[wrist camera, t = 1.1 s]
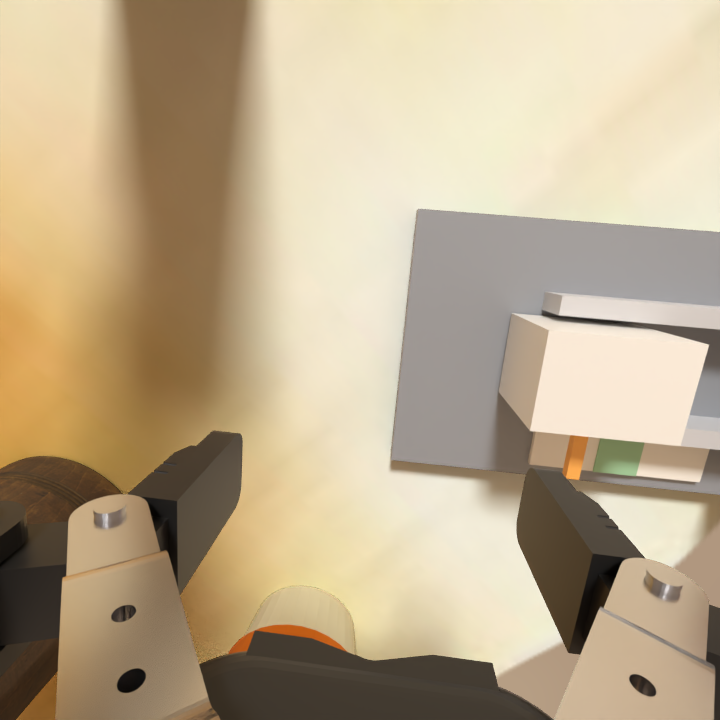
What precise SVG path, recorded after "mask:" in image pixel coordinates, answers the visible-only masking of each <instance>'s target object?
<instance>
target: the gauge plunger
mask: <svg viewBox="0 0 720 720" xmlns="http://www.w3.org/2000/svg"><path fill="white" fill-rule="evenodd" d="M708 347H709V345H708V344H705V343H701V342H697V341H694V340H690V339H686V338H683V337H679V336H675V335H672V334H668V333H665V332H661V331H657V330H654V329H650V328H646V327H643V326H639V325H635V324H629V323H618V322H607V321H595V320H584V319H573V318H561V317H550V316H539V315H527V314H516V313H512V314H511V320H510V326H509V332H508V338H507V344H506V350H505V356H504V362H503V368H502V374H501V380H500V386H499V393H500V394H501V395H502V397H503V398H504V399H505V400H506V402H507V403H508V404H509V405H510V407H511V408H512V409H513V410H514V412H515V413H516V414H517V415H518V417H519V418H520V419H521V420H522V422H523V423H524V424H525V425H526V427H527V428H528V429H529V430H530V431H535V432H545V433H555V434H565V435H570V439H569V444H568V448H567V453H566V457H565V462H564V467H563V471H562V474H563V475H564V476H565V477H566V479H575V480H579V477H580V473H581V469H582V464H583V460H584V455H585V451H586V446H587V442H588V438H589V437H594V438H604V439H614V440H624V441H634V442H644V443H653V444H663V445H673V446H681V443H682V439H683V436H684V432H685V428H686V425H687V421H688V418H689V414H690V411H691V407H692V404H693V400H694V397H695V393H696V390H697V386H698V383H699V379H700V376H701V372H702V368H703V365H704V361H705V358H706V354H707V351H708Z"/></svg>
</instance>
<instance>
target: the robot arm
mask: <svg viewBox="0 0 720 720" xmlns="http://www.w3.org/2000/svg"><path fill="white" fill-rule="evenodd" d="M241 477H242V436H241V434H239V433H230V432H221V431H212V432H211V433H210V434H209V435H208V436H207V437H206V438H205V439H203V440H202V441H201V442H200V443H199V444H198V445H197V446H189V447H187V448H184V449H182V450H180V451H177V452H175V453H174V454H173V455H171V456H170V457H169V458H168V459H167V460H166V461H164V463H163V464H161V465H160V466H159V467H158V468H156V469H155V470H154V473H153V472H152V473H151V474H150V475H148V476H147V477H146V478H145V479H144V480H143V481H142V482H140V483H139V484H138V485H137V486H136V487H135V488H134V489H132V490H131V491H130V492H129V493H128V494H118V495H110V496H105V497H101V498H98V499H95V500H92V501H89V502H87V503H85V504H83V505H82V506H80V507H79V508H77V509H76V510H75V511H74V512H73V513H72V514H71V516H70V518H69V521H66V522H54V523H41V524H27V517H26V509H25V507H24V506H23V505H22V504H20V503H17V502H13V501H0V677H1V676H2V675H3V674H4V673H5V672H6V671H7V670H8V668H9V667H10V666H11V665H12V664H13V663H14V662H15V661H16V659H17V658H18V657H19V656H20V655H21V654H22V653H23V652H24V650H25V649H26V648H27V647H28V646H29V645H30V643H31V642H33V641H40V640H47V639H54V638H59V654H58V674H57V695H56V715H55V720H553V719H552V718H551V717H550V716H548V715H547V714H546V713H544V712H543V711H542V710H540V709H539V708H538V707H536V706H535V705H533V704H531V703H530V702H528V701H527V700H525V699H523V698H522V697H520V696H518V695H516V694H514V693H512V692H510V691H508V690H506V689H503V688H501V687H498V684H497V680H496V676H495V672H494V668H493V664H492V663H488V662H480V661H473V660H466V659H459V658H452V657H444V656H437V655H427V656H417V657H408V658H398V659H388V660H379V661H372V660H367V659H364V658H361V657H359V656H356V655H354V654H351V653H349V652H346V651H344V650H341V649H338V648H336V647H333V646H331V645H328V644H326V643H323V642H320V641H318V640H315V639H313V638H307V637H299V636H292V635H285V634H278V633H270V632H263V631H256V630H255V631H254V634H253V637H252V639H251V642H250V645H249V647H248V650H247V651H243V652H236V653H232V654H227V655H223V656H220V657H217V658H214V659H211V660H208V661H206V662H204V663H201V664H199V662H198V658H197V655H196V651H195V648H194V644H193V640H192V637H191V633H190V630H189V626H188V623H187V619H186V615H185V612H184V608H183V605H182V601H181V597H180V594H181V593H182V591H183V590H184V588H185V587H186V585H187V583H188V582H189V580H190V579H191V577H192V576H193V574H194V572H195V571H196V569H197V568H198V566H199V565H200V563H201V561H202V560H203V558H204V557H205V555H206V554H207V552H208V550H209V549H210V547H211V546H212V544H213V543H214V541H215V539H216V538H217V536H218V535H219V533H220V532H221V530H222V528H223V527H224V525H225V524H226V522H227V521H228V519H229V517H230V516H231V514H232V513H233V511H234V510H235V508H236V506H237V503H238V500H239V496H240V491H241ZM517 538H518V543H519V545H520V548H521V550H522V552H523V554H524V556H525V559H526V561H527V563H528V565H529V567H530V570H531V572H532V574H533V576H534V578H535V581H536V583H537V585H538V587H539V589H540V592H541V594H542V596H543V598H544V600H545V603H546V605H547V607H548V609H549V611H550V614H551V616H552V618H553V620H554V622H555V625H556V627H557V629H558V631H559V633H560V636H561V638H562V640H563V642H564V644H565V647H566V648H567V651H568V653H573V654H580V657H579V659H578V662H577V664H576V667H575V669H574V672H573V674H572V676H571V679H570V681H569V684H568V686H567V689H566V691H565V694H564V696H563V698H562V701H561V703H560V706H559V708H558V711H557V713H556V716H555V718H554V720H720V608H717V607H715V606H712V605H709V599H708V597H707V595H706V594H705V592H704V591H703V590H702V589H701V587H700V586H699V585H698V584H696V583H695V582H694V581H693V580H691V579H690V578H689V577H687V576H686V575H684V574H682V573H681V572H679V571H677V570H676V569H674V568H672V567H669V566H667V565H665V564H662V563H660V562H657V561H653V560H649V559H645V557H644V556H643V555H642V554H641V553H640V552H639V551H638V549H637V548H636V547H635V546H634V545H633V544H632V542H631V541H630V540H629V539H628V538H627V537H626V535H625V534H624V533H623V532H622V531H621V530H619V529H618V526H617V525H616V524H615V523H614V521H613V520H612V519H609V516H608V515H607V513H606V512H605V511H604V510H603V509H602V508H601V506H600V505H599V504H598V503H596V502H595V501H593V500H592V499H591V498H589V497H588V496H586V495H585V494H583V493H582V492H578V491H576V490H575V488H574V487H573V486H572V485H571V483H570V482H569V481H568V480H567V479H566V477H565V476H564V475H563V474H562V473H561V472H560V471H555V470H546V469H537V468H530V469H529V470H528V471H527V474H526V477H525V482H524V487H523V492H522V497H521V502H520V508H519V513H518V518H517Z"/></svg>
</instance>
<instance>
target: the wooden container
mask: <svg viewBox="0 0 720 720" xmlns="http://www.w3.org/2000/svg"><path fill="white" fill-rule="evenodd" d="M118 494H122V493H121V492H120V491H119V490H118V489H117V488H116V487H115V486H114V485H113V484H112V483H111V482H109V481H108V480H107V479H106V478H104V477H103V476H102V475H100V474H99V473H97V472H95V471H94V470H92V469H90V468H88V467H86V466H84V465H82V464H80V463H77V462H74V461H71V460H67V459H63V458H58V457H49V456H38V457H30V458H25V459H22V460H19V461H16V462H14V463H11V464H9V465H7V466H5V467H3V468H1V469H0V501H13V502H17V503H20V504H22V505H23V506H24V507H25V509H26V517H27V524H41V523H54V522H66V521H69V518H70V516H71V514H72V513H73V512H74V511H75V510H76V509H77V508H79V507H80V506H82V505H83V504H85V503H87V502H89V501H92V500H95V499H98V498H101V497H105V496H110V495H118ZM58 654H59V638H54V639H47V640H40V641H33V642H31V643H30V645H29V646H28V647H27V648H26V649H25V650H24V652H23V653H22V654H21V655H20V656H19V657H18V658H17V659H16V661H15V662H14V663H13V664H12V665H11V666H10V667H9V668H8V670H7V671H6V672H5V673H4V674H3V675H2V676H1V677H0V720H16V719H17V718H18V716H19V715H20V714H21V713H22V712H23V711H24V709H25V708H26V707H27V706H28V705H29V703H30V702H31V701H32V700H33V699H34V698H35V696H36V695H37V694H38V693H39V692H40V691H41V689H42V688H43V687H44V686H45V685H46V684H47V683H48V681H49V680H50V679H51V678H52V677H53V676H54V675H55V673H56V672H57V671H58Z"/></svg>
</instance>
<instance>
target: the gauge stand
mask: <svg viewBox="0 0 720 720" xmlns="http://www.w3.org/2000/svg"><path fill="white" fill-rule="evenodd" d="M512 313H516V314H527V315H539V316H550V317H561V318H573V319H584V320H595V321H607V322H618V323H629V324H635V325H639V326H643V327H646V328H650V329H654V330H657V331H661V332H665V333H668V334H672V335H675V336H679V337H683V338H686V339H690V340H694V341H697V342H701V343H705V344H708V345H709V347H708V351H707V354H706V358H705V361H704V365H703V368H702V372H701V376H700V379H699V383H698V386H697V390H696V393H695V397H694V400H693V404H692V407H691V411H690V414H689V418H688V421H687V425H686V428H685V432H684V436H683V439H682V443H681V446H673V445H663V444H653V443H644V442H634V441H624V440H614V439H604V438H594V437H589V438H588V442H587V446H586V451H585V455H584V460H583V464H582V469H581V473H580V477H579V480H585V481H594V482H603V483H613V484H622V485H632V486H641V487H650V488H660V489H669V490H679V491H688V492H697V493H707V494H716V495H720V232H711V231H698V230H685V229H672V228H659V227H646V226H633V225H620V224H608V223H595V222H582V221H569V220H556V219H543V218H530V217H517V216H505V215H492V214H479V213H466V212H453V211H440V210H427V209H418V210H417V214H416V224H415V233H414V242H413V252H412V261H411V270H410V280H409V289H408V298H407V308H406V317H405V326H404V336H403V345H402V354H401V364H400V373H399V382H398V392H397V401H396V411H395V420H394V429H393V439H392V448H391V460H396V461H406V462H415V463H425V464H434V465H443V466H453V467H462V468H472V469H481V470H490V471H500V472H509V473H519V474H527V471H528V470H529V469H530V468H537V469H546V470H555V471H560V472H561V473H562V471H563V467H564V462H565V457H566V453H567V448H568V444H569V439H570V435H565V434H555V433H545V432H535V431H530V430H529V429H528V428H527V427H526V425H525V424H524V423H523V422H522V420H521V419H520V418H519V417H518V415H517V414H516V413H515V412H514V410H513V409H512V408H511V407H510V405H509V404H508V403H507V402H506V400H505V399H504V398H503V397H502V395H501V394H500V393H499V386H500V380H501V374H502V368H503V362H504V356H505V350H506V344H507V338H508V332H509V326H510V320H511V314H512Z"/></svg>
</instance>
